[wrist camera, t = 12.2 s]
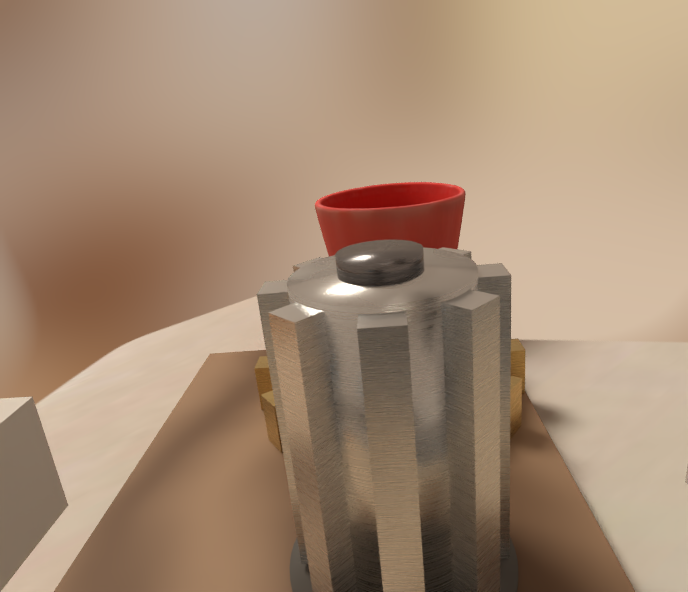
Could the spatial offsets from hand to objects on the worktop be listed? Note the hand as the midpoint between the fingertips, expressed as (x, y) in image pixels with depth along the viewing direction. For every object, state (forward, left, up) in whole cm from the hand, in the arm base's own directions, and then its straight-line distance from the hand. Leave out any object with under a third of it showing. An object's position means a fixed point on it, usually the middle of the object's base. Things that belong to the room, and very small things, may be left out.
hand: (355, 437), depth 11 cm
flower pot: (-2, -30, -10) cm, 32 cm away
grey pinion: (-1, -5, -8) cm, 10 cm away
